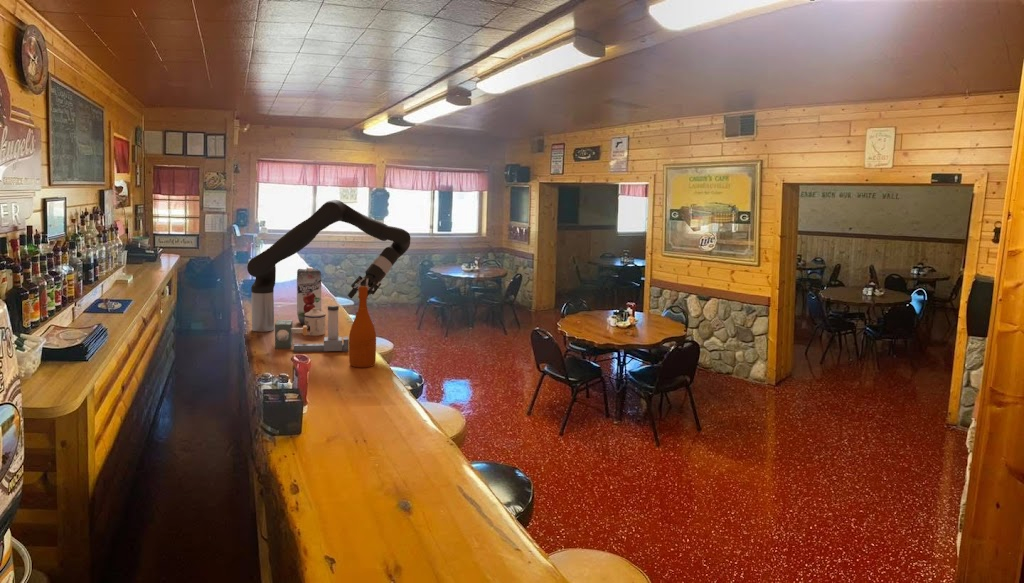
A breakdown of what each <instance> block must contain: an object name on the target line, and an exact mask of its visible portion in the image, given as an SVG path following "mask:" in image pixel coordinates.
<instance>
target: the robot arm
mask: <svg viewBox="0 0 1024 583" xmlns="http://www.w3.org/2000/svg"><path fill="white" fill-rule="evenodd" d="M337 222H343V223H346V224H349V225H352V226H354V227H356V228H357V229H359V230H361V231H362V232H364V234H366V235H369V236H370V237H372V238H375V239H377V240H380V241H382V242H387V241H391V242H392V243H391V244H390V245H389V246H386V247H385V248H384V249H383V250H382V251H381V253H380V254H379V255H378V257H377V256H376V258H375V259H374V260H373V262H372V263H371V264H370V265H369V266H368V267H367V269H366V270H365V271H364V273H365V275H364V276H363V277H362V276H361V275H359V276H358V277H357V278H356V279H355V280H354V282H353V283H352V284H351V285H350V287H351V290H350V291H349V292H348V293H347V297H348V298H349V299H353V298H354V296H355V295H356V294H357V293H358V292H359V287H360V286H366V287H367V288H368V291H367V295H368V296H370V295H372V296H373V295H374V294H375V293H376V292H377V291H378V289H379V288H380V287H381V285H382V283H381V282H382V281H383V279H384V278H385V276H387V274H388V273H389V272H390V270H391V269H392V267H393V266H394V264H395V263H396V262H397V261H398V259H399V258H401V256H403V255H404V254H405V253H406V252H407V251H408V249H409V248H410V245H411V234H410V233H409V232H408V231H407V230H405V229H403V228H401V227H396V226H392V225H391V226H390V225H387V224H386V223H383V222H381V221H379V220H376V219H374V218H371V217H369V216H367V215H365V214H362V213H361V212H359V211H357V210H355V209H354V208H352V207H351V206H349V205H347V204H346V203H344V202H342V201H341V200H338V199H333V200H328V201H326V202H324V203H323V204H322V205H321V206H320V207H319V208H318V209H317V210H316V211H315V212H314V213H312V215H311V216H309V217H308V218H307V219H304V220H303V221H302V222H300V223H299V224H297V225H296V226H294V227H292V228H291V229H290V230H288V232H286V233H285V234H284V235H282V237H280V238H278V239H277V240H276V241H275V242H274V243H273V244H271V245H270V246H269V247H268V248H267V249H265V250H264V251H262V252H261V253H259V254H257V255H255V256H253V257H252V258H251V259H250V260H249V261H248V263H247V267H246V268H247V273H248V274H249V275H250V276H251V277H253V278H255V280H254V282H253V283H252V285H251V287H250V288H251V289H250V290H251V297H250V298H251V331H253V332H259V333H263V332H264V333H265V332H272V331H275V306H274V305H275V298H274V297H275V296H274V291H275V290H274V289H275V286H276V273H277V271H276V270H277V268H276V267H277V266H276V265H277V264H278V263H280V262H282V261H283V260H285V259H288V258H289V257H291V256H293V255H295V254H297V253H298V252H300V251H301V250H303V249H304V248H305V247H307V246H309V244H310V243H312V241H313V240H314V239H315V238H316V236H318V235H319V233H320V232H321V231H323V230H324V229H326V228H328V227H329V226H331V225H332V224H335V223H337Z"/></svg>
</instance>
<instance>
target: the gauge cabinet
mask: <svg viewBox="0 0 1024 583" xmlns="http://www.w3.org/2000/svg"><path fill="white" fill-rule="evenodd" d="M291 328H293V319H277V320H276V322H274V348H275V349H276V350H277V349H279V350H281V349H282V350H283V349H287V350H289V349H290V350H291V349H292V347H293V345H294V344H293V338H294V337H293V333H291Z"/></svg>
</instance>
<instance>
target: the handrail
mask: <svg viewBox="0 0 1024 583" xmlns="http://www.w3.org/2000/svg"><path fill="white" fill-rule="evenodd" d="M310 352H311V353H312V352H313V353H314V352H317V353H318V352H319V353H320V352H322V353H323V352H325V351H324V343H294V344H293V353H310ZM341 352H343V353H346V352H347V353H349V336H343V338H342V351H341Z"/></svg>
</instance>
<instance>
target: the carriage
mask: <svg viewBox="0 0 1024 583" xmlns="http://www.w3.org/2000/svg"><path fill="white" fill-rule="evenodd" d="M339 308H340V306H338V305H328V306H327V336H324V337H323V344H324V352H343V351H342V343H343V337H342V336H339Z"/></svg>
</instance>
